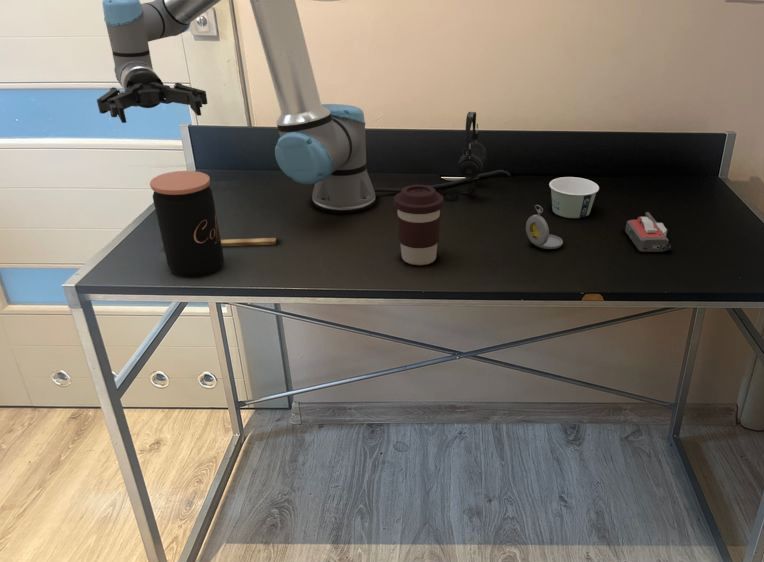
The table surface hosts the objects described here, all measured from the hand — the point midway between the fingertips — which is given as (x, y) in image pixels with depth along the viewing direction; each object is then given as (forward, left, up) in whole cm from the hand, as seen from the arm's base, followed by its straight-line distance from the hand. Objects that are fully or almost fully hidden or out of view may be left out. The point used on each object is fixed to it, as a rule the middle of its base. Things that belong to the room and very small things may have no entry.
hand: (161, 111), depth 133 cm
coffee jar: (-3, +10, -28) cm, 30 cm away
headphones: (-63, -28, -28) cm, 74 cm away
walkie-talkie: (-101, +3, -28) cm, 105 cm away
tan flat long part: (-7, 0, -28) cm, 29 cm away
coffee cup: (-48, +10, -28) cm, 57 cm away
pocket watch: (-76, +6, -28) cm, 81 cm away
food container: (-88, -13, -28) cm, 93 cm away
